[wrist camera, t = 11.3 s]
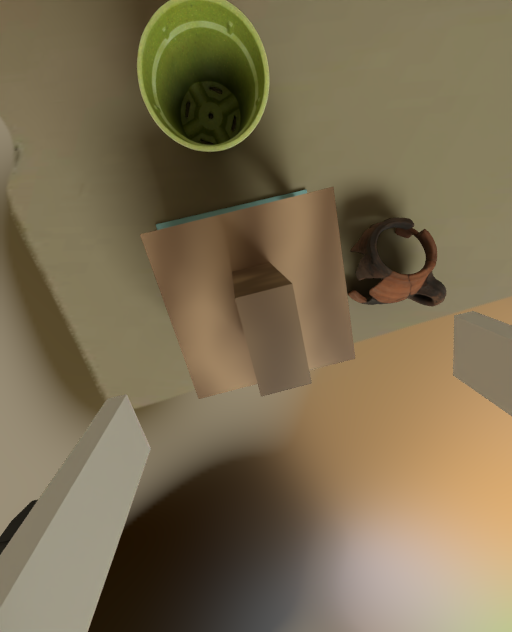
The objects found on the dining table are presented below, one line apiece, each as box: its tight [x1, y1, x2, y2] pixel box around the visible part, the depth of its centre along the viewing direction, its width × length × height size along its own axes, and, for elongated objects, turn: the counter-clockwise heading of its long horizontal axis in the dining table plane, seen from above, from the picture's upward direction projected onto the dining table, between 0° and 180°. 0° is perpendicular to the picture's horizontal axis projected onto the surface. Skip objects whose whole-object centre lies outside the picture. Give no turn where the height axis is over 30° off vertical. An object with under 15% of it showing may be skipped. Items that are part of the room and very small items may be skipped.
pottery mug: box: [348, 218, 446, 306], centre depth 33 cm, size 12×10×8 cm
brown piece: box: [140, 187, 355, 399], centre depth 24 cm, size 14×14×20 cm
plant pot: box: [137, 0, 269, 152], centre depth 24 cm, size 9×9×9 cm
